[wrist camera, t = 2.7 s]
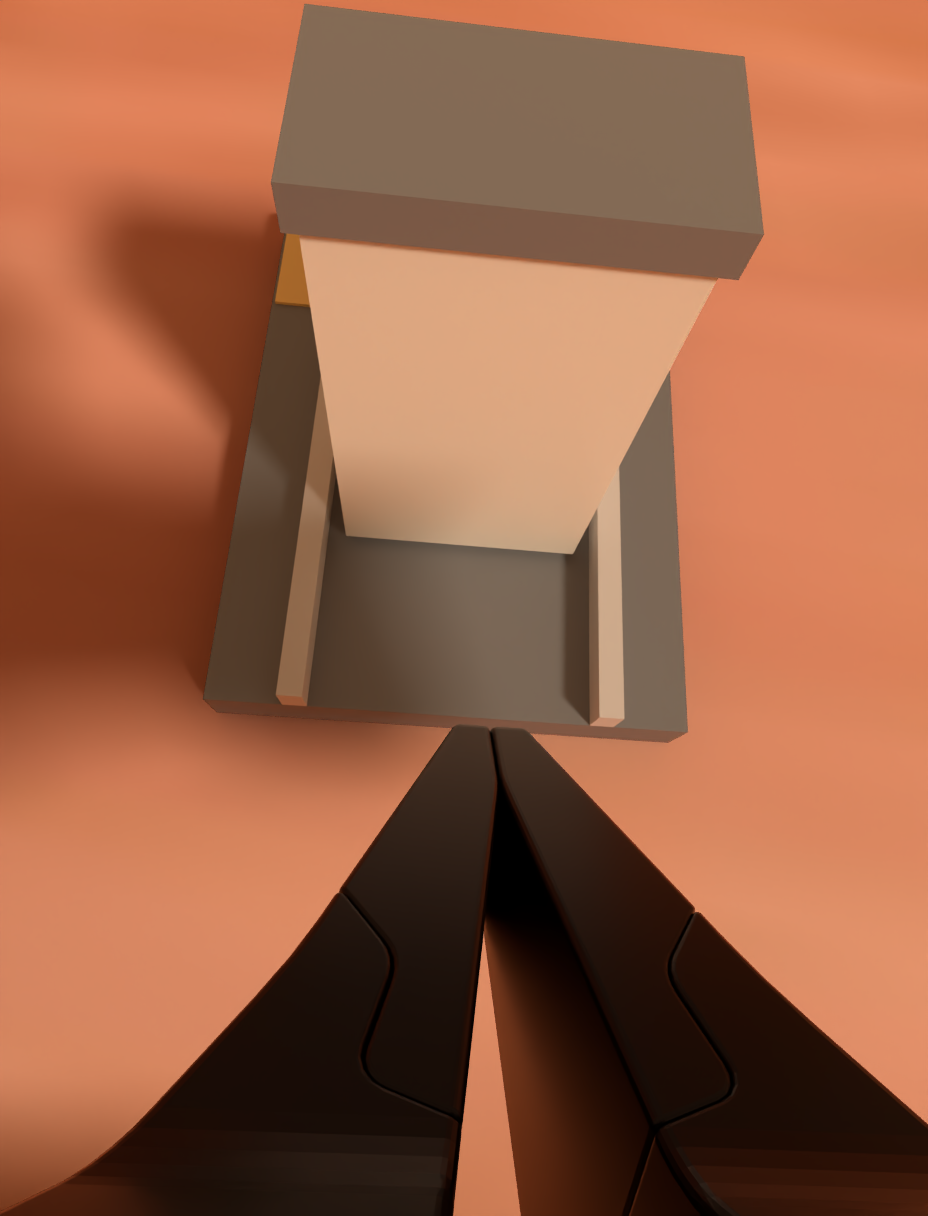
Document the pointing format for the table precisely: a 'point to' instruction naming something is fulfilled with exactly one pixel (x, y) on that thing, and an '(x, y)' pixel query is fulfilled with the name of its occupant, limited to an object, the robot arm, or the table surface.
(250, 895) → the table surface
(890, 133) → the table surface
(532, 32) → the fader knob
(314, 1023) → the robot arm
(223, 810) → the table surface
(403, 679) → the grey railed base plate
